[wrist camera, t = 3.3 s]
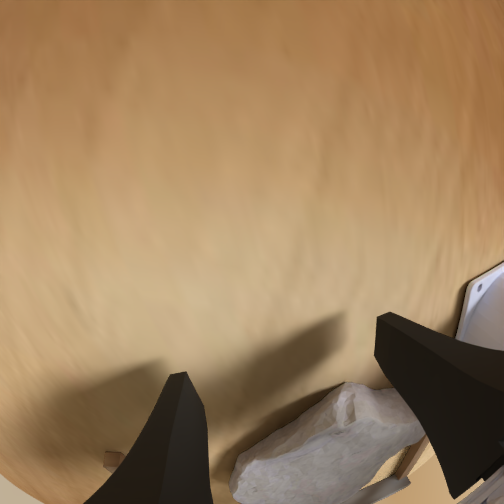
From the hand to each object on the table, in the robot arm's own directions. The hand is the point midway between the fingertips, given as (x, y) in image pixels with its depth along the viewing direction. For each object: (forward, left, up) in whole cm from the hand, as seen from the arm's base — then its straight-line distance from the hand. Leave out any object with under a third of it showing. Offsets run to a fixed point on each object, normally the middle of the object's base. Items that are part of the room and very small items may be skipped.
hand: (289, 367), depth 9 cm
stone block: (-1, +10, -2) cm, 10 cm away
